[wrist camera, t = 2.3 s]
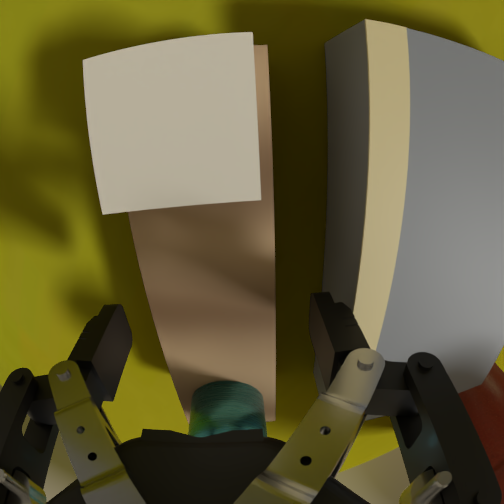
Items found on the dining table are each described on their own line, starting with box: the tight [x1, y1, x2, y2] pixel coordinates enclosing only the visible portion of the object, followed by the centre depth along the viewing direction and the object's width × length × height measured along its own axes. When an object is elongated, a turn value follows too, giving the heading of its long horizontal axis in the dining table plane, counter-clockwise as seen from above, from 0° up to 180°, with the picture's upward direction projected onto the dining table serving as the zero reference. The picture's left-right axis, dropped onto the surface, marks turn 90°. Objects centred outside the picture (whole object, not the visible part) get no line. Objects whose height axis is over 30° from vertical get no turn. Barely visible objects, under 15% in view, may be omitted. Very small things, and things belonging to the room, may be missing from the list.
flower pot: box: [458, 362, 504, 504], centre depth 19 cm, size 16×16×16 cm
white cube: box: [83, 32, 261, 215], centre depth 8 cm, size 4×4×4 cm
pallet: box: [128, 45, 276, 423], centre depth 15 cm, size 20×6×4 cm, turn 3°
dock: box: [313, 19, 504, 420], centre depth 15 cm, size 21×13×5 cm, turn 3°
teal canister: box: [188, 381, 267, 437], centre depth 14 cm, size 4×4×5 cm
